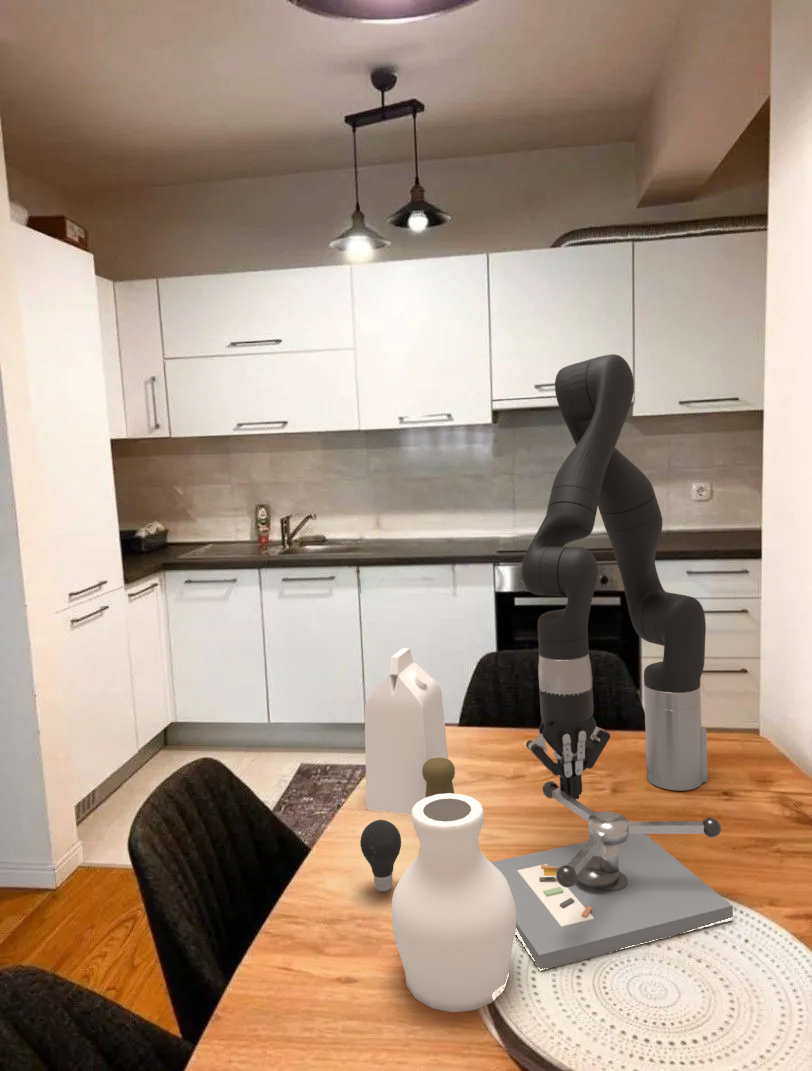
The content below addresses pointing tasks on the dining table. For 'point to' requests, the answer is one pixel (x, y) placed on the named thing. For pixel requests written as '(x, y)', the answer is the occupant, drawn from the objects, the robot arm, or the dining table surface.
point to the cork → (438, 776)
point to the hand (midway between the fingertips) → (571, 797)
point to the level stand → (607, 903)
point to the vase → (453, 909)
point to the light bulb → (381, 851)
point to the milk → (402, 735)
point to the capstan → (610, 841)
